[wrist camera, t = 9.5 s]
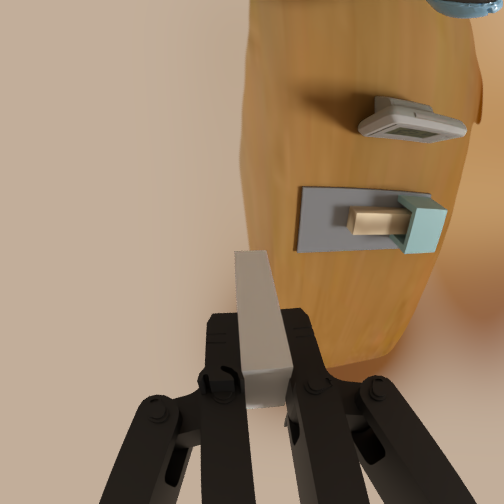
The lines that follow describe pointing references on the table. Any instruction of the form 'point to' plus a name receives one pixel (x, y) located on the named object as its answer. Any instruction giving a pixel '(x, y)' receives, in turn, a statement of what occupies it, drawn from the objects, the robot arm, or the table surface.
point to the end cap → (420, 225)
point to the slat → (378, 220)
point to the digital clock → (409, 122)
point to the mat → (341, 218)
